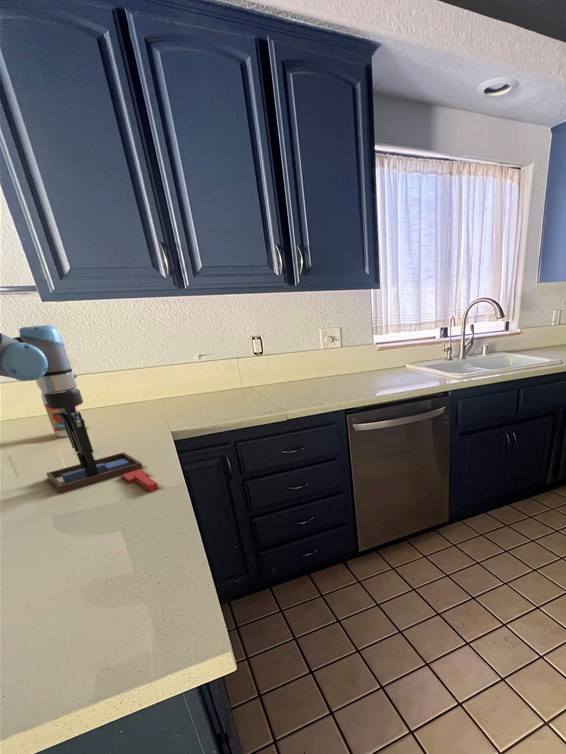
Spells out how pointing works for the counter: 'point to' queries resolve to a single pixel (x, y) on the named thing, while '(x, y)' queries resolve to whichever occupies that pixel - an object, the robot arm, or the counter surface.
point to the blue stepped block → (101, 468)
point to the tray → (97, 478)
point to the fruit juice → (55, 417)
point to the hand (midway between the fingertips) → (92, 474)
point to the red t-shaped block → (141, 479)
